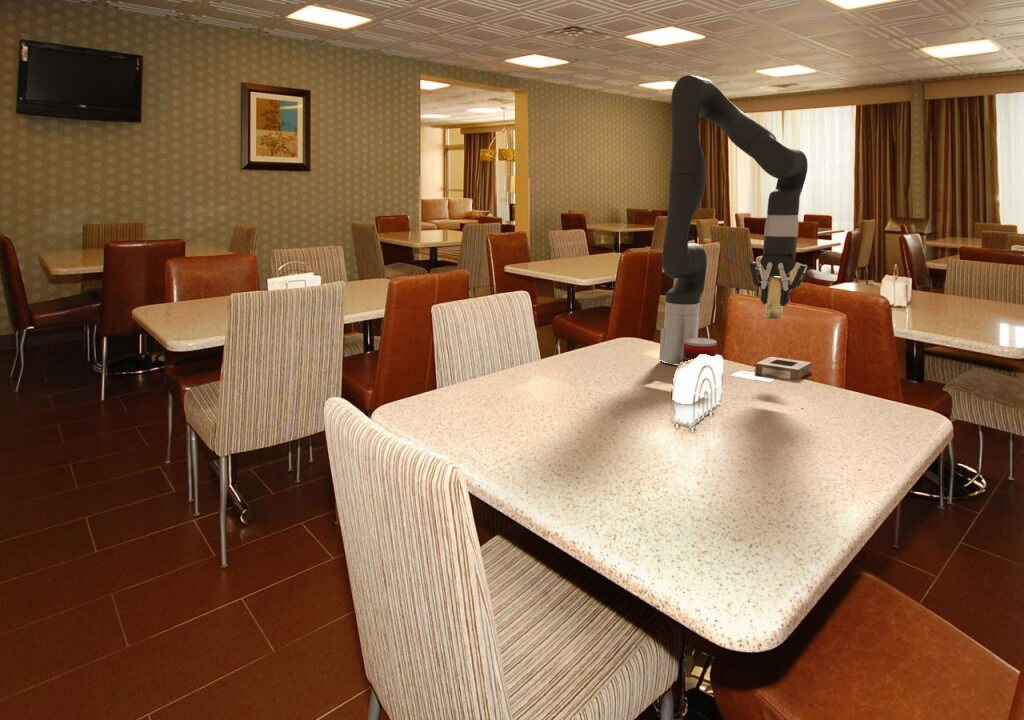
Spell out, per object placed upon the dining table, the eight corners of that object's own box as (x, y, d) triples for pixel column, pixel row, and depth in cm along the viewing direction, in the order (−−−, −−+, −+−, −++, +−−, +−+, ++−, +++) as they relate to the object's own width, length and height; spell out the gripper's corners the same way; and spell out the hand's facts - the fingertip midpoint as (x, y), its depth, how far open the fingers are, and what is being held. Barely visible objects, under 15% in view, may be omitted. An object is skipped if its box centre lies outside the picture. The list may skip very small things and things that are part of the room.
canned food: (717, 382, 168) (720, 339, 166) (708, 389, 162) (711, 344, 159) (687, 378, 172) (689, 336, 170) (677, 385, 166) (680, 341, 163)
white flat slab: (729, 381, 169) (729, 375, 169) (739, 376, 175) (740, 370, 174) (768, 388, 163) (769, 382, 163) (778, 382, 168) (779, 376, 168)
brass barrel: (762, 317, 167) (765, 277, 165) (768, 315, 170) (771, 276, 168) (778, 319, 164) (782, 278, 162) (784, 317, 167) (788, 277, 165)
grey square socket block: (754, 378, 172) (755, 363, 171) (769, 371, 180) (770, 356, 179) (796, 385, 166) (798, 369, 165) (810, 377, 174) (811, 362, 173)
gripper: (745, 234, 164) (740, 303, 168) (805, 235, 155) (798, 309, 159) (757, 233, 170) (752, 300, 174) (816, 234, 161) (809, 306, 165)
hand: (774, 304), depth 166 cm, fingers closed on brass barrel, 4 cm apart
